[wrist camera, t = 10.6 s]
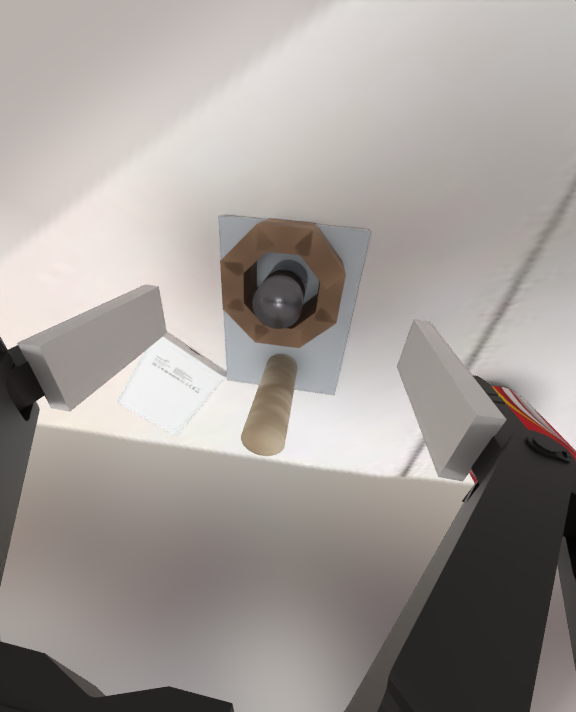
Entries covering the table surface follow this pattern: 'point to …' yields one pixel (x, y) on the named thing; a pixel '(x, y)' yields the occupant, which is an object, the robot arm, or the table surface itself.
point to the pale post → (271, 407)
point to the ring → (243, 285)
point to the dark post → (281, 295)
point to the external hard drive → (170, 384)
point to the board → (327, 349)
